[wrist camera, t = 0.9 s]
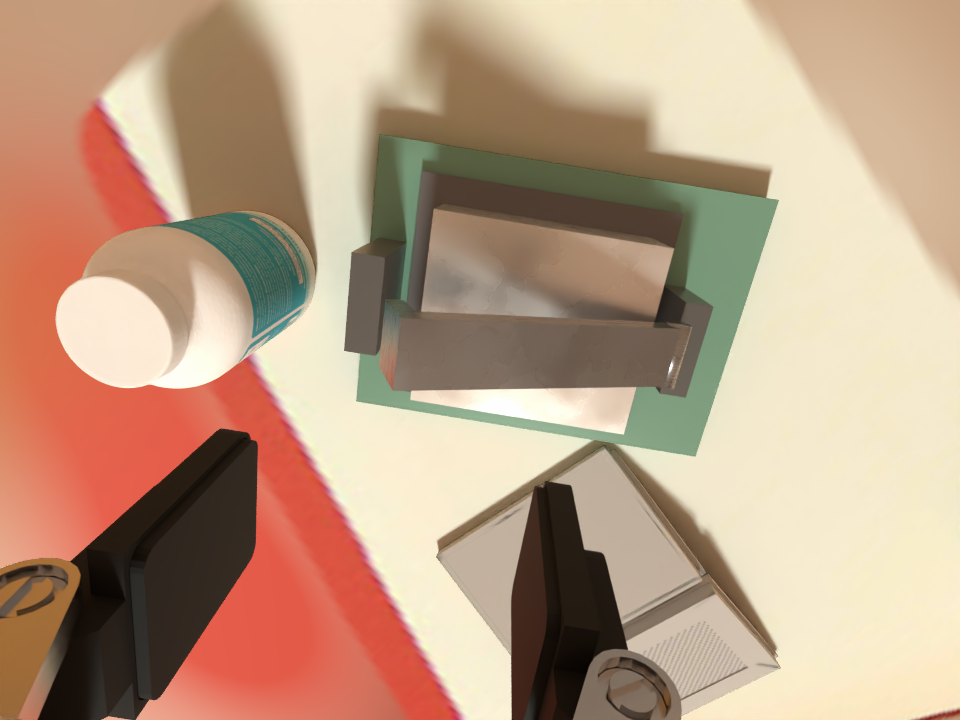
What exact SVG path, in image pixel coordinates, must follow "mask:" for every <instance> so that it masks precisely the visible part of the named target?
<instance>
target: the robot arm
mask: <svg viewBox="0 0 960 720" xmlns="http://www.w3.org/2000/svg"><path fill="white" fill-rule="evenodd" d="M257 456H258V445H257V442H256V441H254V440H251V439H250V435H249V434H248V433H246V432H240V431H234V430H228V429H219V430H218V431H216V432H215V433H214V434H213V435H212V436H211V437H210V438H209V439H207V440H206V441H205V442H204V443H203V444H202V445H201V446H200V447H199V448H198V449H196V450H195V451H194V452H193V453H192V454H191V455H190V456H189V457H188V458H186V459H185V460H184V461H183V462H182V463H181V464H180V465H179V466H178V467H176V468H175V469H174V470H173V471H172V472H171V473H170V474H169V475H167V476H166V477H165V478H164V479H163V480H162V481H161V482H160V483H159V484H157V485H156V486H154V487H153V488H152V489H151V490H150V491H149V492H147V493H146V494H145V495H144V496H143V497H142V498H141V499H140V500H138V501H137V502H136V503H135V504H134V505H133V506H132V507H131V508H129V509H128V510H127V511H126V512H125V513H124V514H123V515H122V516H121V517H119V518H118V519H117V520H116V521H115V522H114V523H113V524H112V525H110V526H109V527H108V528H107V529H106V530H105V531H104V532H103V533H102V534H101V535H99V536H98V537H97V538H96V539H95V540H94V541H93V542H91V543H90V545H88V546H87V547H86V548H85V549H84V550H83V551H81V552H80V553H79V554H78V555H77V556H76V557H75V558H74V559H73V560H71V561H70V562H69V561H66V560H62V559H58V558H39V559H32V560H26V561H22V562H18V563H15V564H12V565H9V566H6V567H4V568H2V569H0V720H101V719H104V718H106V717H108V716H111V717H117V718H124V719H130V720H136V718H137V716H138V715H139V714H140V712H141V711H142V709H143V708H144V707H145V705H146V703H147V702H148V701H149V699H150V700H156V699H158V698H159V697H160V696H161V695H162V694H163V692H164V691H165V689H166V688H167V686H168V685H169V683H170V682H171V680H172V679H173V677H174V676H175V674H176V672H177V671H178V669H179V668H180V666H181V665H182V663H183V662H184V660H185V659H186V657H187V656H188V654H189V653H190V651H191V650H192V648H193V647H194V645H195V644H196V642H197V641H198V639H199V638H200V636H201V634H202V633H203V632H204V630H205V629H206V627H207V625H208V624H209V622H210V621H211V619H212V618H213V616H214V615H215V613H216V612H217V610H218V609H219V607H220V606H221V604H222V602H223V601H224V600H225V598H226V597H227V595H228V594H229V592H230V591H231V589H232V588H233V586H234V584H235V583H236V581H237V580H238V578H239V577H240V575H241V574H242V572H243V571H244V569H245V568H246V566H247V564H248V563H249V561H250V560H251V558H252V556H253V553H254V549H255V543H256V502H257V501H256V499H257ZM511 683H512V720H681V713H682V707H681V697H680V695H679V693H678V690H677V688H676V686H675V684H674V682H673V681H672V680H671V678H670V677H669V676H668V674H667V673H666V672H665V671H664V670H663V669H662V668H660V667H659V666H658V665H657V664H656V663H655V662H653V661H652V660H650V659H648V658H646V657H645V656H643V655H641V654H638V653H635V652H632V651H629V650H628V647H627V643H626V639H625V635H624V631H623V627H622V623H621V619H620V615H619V611H618V607H617V603H616V599H615V595H614V591H613V587H612V583H611V579H610V575H609V571H608V566H607V562H606V559H605V556H604V554H603V553H602V552H597V551H591V550H584V545H583V540H582V535H581V530H580V525H579V520H578V515H577V510H576V505H575V500H574V495H573V490H572V486H571V485H567V484H561V483H555V482H549V481H546V482H545V483H544V486H543V487H538V486H535V488H534V491H533V495H532V500H531V504H530V509H529V513H528V518H527V523H526V527H525V532H524V536H523V541H522V546H521V550H520V555H519V559H518V564H517V569H516V573H515V578H514V582H513V588H512V595H511Z"/></svg>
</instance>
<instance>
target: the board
mask: <svg viewBox="0 0 960 720" xmlns="http://www.w3.org/2000/svg"><path fill="white" fill-rule="evenodd" d="M778 201H779V200H775V199H769V198H763V197H757V196H751V195H745V194H738V193H732V192H726V191H720V190H714V189H708V188H702V187H696V186H690V185H684V184H678V183H672V182H666V181H660V180H654V179H648V178H642V177H636V176H630V175H624V174H618V173H612V172H606V171H600V170H593V169H587V168H581V167H575V166H569V165H563V164H557V163H551V162H545V161H539V160H533V159H527V158H521V157H515V156H509V155H503V154H497V153H491V152H485V151H479V150H473V149H467V148H461V147H454V146H448V145H442V144H436V143H430V142H424V141H418V140H412V139H406V138H400V137H394V136H388V135H382V134H380V136H379V148H378V159H377V171H376V182H375V194H374V205H373V216H372V228H371V239H370V243H368V244H366V245H364V246H362V247H361V248H359V249H357V250H355V251H353V252H352V256H351V269H350V282H349V295H348V308H347V321H346V335H345V348H344V351H348V352H354V353H361V354H360V365H359V377H358V388H357V400H356V401H358V402H364V403H370V404H376V405H382V406H388V407H394V408H401V409H407V410H413V411H419V412H425V413H431V414H437V415H444V416H450V417H456V418H462V419H468V420H474V421H480V422H487V423H493V424H499V425H505V426H511V427H517V428H523V429H530V430H536V431H542V432H548V433H554V434H560V435H566V436H573V437H579V438H585V439H591V440H597V441H603V442H609V443H616V444H622V445H628V446H634V447H640V448H646V449H652V450H659V451H665V452H671V453H677V454H683V455H689V456H696V453H697V450H698V447H699V444H700V441H701V438H702V435H703V431H704V428H705V425H706V422H707V419H708V416H709V413H710V410H711V407H712V404H713V401H714V398H715V395H716V392H717V388H718V385H719V382H720V379H721V376H722V373H723V370H724V367H725V364H726V361H727V358H728V355H729V352H730V349H731V345H732V342H733V339H734V336H735V333H736V330H737V327H738V324H739V321H740V318H741V315H742V312H743V309H744V306H745V302H746V299H747V296H748V293H749V290H750V287H751V284H752V281H753V278H754V275H755V272H756V269H757V266H758V263H759V259H760V256H761V253H762V250H763V247H764V244H765V241H766V238H767V235H768V232H769V229H770V226H771V223H772V220H773V216H774V213H775V210H776V207H777V204H778ZM385 299H392V300H404V301H405V302H406V303H407V304H408V305H409V306H410V307H411V308H412V309H413V310H414V311H422V312H444V313H466V314H489V315H511V316H533V317H555V318H578V319H600V320H622V321H644V322H666V323H667V321H668V320H674V321H680V322H684V323H687V324H689V325H691V326H692V330H691V334H690V337H689V340H688V344H687V347H686V350H685V354H684V357H683V361H682V364H681V367H680V371H679V374H678V377H677V381H676V384H675V388H674V389H663V388H660V387H615V388H551V389H488V390H424V391H393V390H392V388H391V387H390V385H389V383H388V381H387V380H386V378H385V376H384V375H383V373H382V371H381V369H380V368H379V358H380V348H381V338H382V328H383V318H384V308H385Z"/></svg>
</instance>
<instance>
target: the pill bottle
mask: <svg viewBox="0 0 960 720" xmlns="http://www.w3.org/2000/svg"><path fill="white" fill-rule="evenodd" d="M314 289H315V269H314V264H313V261H312V258H311V255H310V253H309V251H308V249H307V247H306V245H305V244H304V242H303V241H302V239H301V238H300V237H299V236H298V234H297V233H296V232H295V231H294V230H293V229H292V228H290V227H289V226H288V225H287V224H285V223H284V222H282V221H281V220H279V219H277V218H275V217H273V216H271V215H268V214H265V213H261V212H256V211H236V212H230V213H224V214H218V215H213V216H207V217H201V218H196V219H190V220H185V221H179V222H173V223H167V224H162V225H156V226H150V227H145V228H140V229H135V230H131V231H128V232H125V233H122V234H119V235H117V236H115V237H113V238H112V239H110V240H109V241H107V242H106V243H104V244H103V245H102V246H101V247H100V248H99V249H98V250H97V251H96V252H95V253H94V254H93V256H92V257H91V259H90V260H89V262H88V264H87V265H86V268H85V270H84V273H83V276H82V278H81V279H79V280H77V281H76V282H74V283H73V284H71V285H70V286H69V287H68V288H67V289H66V290H65V291H64V293H63V294H62V296H61V298H60V300H59V303H58V305H57V311H56V326H57V332H58V335H59V338H60V340H61V343H62V345H63V347H64V349H65V351H66V352H67V353H68V355H69V356H70V358H71V359H72V360H73V361H74V362H75V363H76V365H77V366H79V367H80V368H81V369H82V370H83V371H84V372H86V373H87V374H88V375H90V376H91V377H93V378H95V379H96V380H98V381H101V382H103V383H105V384H108V385H112V386H116V387H122V388H135V387H141V386H144V385H147V384H151V385H155V386H159V387H165V388H189V387H195V386H199V385H203V384H206V383H208V382H211V381H213V380H215V379H217V378H218V377H220V376H221V375H223V374H224V373H226V372H227V371H229V370H230V369H231V368H233V367H234V366H235V365H237V364H238V363H240V362H241V361H242V360H244V359H245V358H246V357H248V356H249V355H250V354H252V353H253V352H254V351H256V350H257V349H258V348H260V347H261V346H263V345H264V344H265V343H267V342H268V341H269V340H271V339H272V338H274V337H275V336H276V335H278V334H279V333H281V332H282V331H283V330H285V329H286V328H287V327H289V326H290V325H291V324H293V323H294V322H295V321H297V320H298V319H299V318H300V317H301V316H302V315H303V313H304V312H305V311H306V309H307V308H308V306H309V304H310V302H311V300H312V297H313V294H314Z"/></svg>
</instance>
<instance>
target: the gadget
mask: <svg viewBox="0 0 960 720" xmlns="http://www.w3.org/2000/svg"><path fill="white" fill-rule="evenodd" d="M549 482H555V483H561V484H567V485H571V486H572V490H573V495H574V500H575V505H576V510H577V515H578V520H579V525H580V530H581V535H582V540H583V545H584V550H591V551H597V552H602V553H603V554H604V556H605V559H606V562H607V566H608V571H609V575H610V579H611V583H612V587H613V591H614V595H615V599H616V603H617V607H618V611H619V615H620V619H621V623H622V627H623V631H624V635H625V639H626V643H627V647H628V650H629V651H632V652H635V653H638V654H641V655H643V656H645V657H646V658H648V659H650V660H652V661H653V662H655V663H656V664H657V665H658V666H659V667H660V668H662V669H663V670H664V671H665V672H666V673H667V674H668V676H669V677H670V678H671V680H672V681H673V682H674V684H675V686H676V688H677V690H678V693H679V695H680V697H681V707H682V713H681V716H682V715H684V714H687V713H689V712H691V711H693V710H695V709H697V708H699V707H701V706H703V705H705V704H707V703H709V702H711V701H713V700H716V699H718V698H720V697H722V696H724V695H726V694H728V693H730V692H732V691H734V690H736V689H738V688H740V687H742V686H744V685H747V684H749V683H751V682H753V681H755V680H757V679H759V678H761V677H763V676H765V675H767V674H769V673H771V672H773V671H775V670H778V669H780V666H779V664H778V662H777V661H776V659H775V658H776V657H778V656H777V655H776V653H775V652H774V651H773V649H772V648H771V647H770V646H769V644H768V643H767V642H766V641H765V639H764V638H763V637H762V636H761V635H760V633H759V632H758V631H757V630H756V629H755V628H754V626H753V625H752V624H751V623H750V622H749V621H748V619H747V618H746V617H745V616H744V615H743V614H742V613H741V611H740V610H739V609H738V608H737V607H736V606H735V604H734V603H733V602H732V601H731V600H730V599H729V597H728V596H727V595H726V594H725V593H724V592H723V590H722V589H721V588H720V587H719V586H718V585H717V584H716V582H715V581H714V580H713V579H712V578H711V577H710V575H709V574H706V571H705V569H704V568H703V566H702V565H701V564H700V562H699V561H698V560H697V558H696V557H695V556H694V554H693V553H692V552H691V550H690V549H689V548H688V546H687V545H686V543H685V542H684V541H683V539H682V538H681V537H680V535H679V534H678V533H677V531H676V530H675V529H674V527H673V526H672V525H671V523H670V522H669V520H668V519H667V518H666V516H665V515H664V514H663V512H662V511H661V510H660V508H659V507H658V506H657V504H656V503H655V501H654V500H653V499H652V497H651V496H650V495H649V493H648V492H647V491H646V489H645V488H644V487H643V485H642V484H641V483H640V481H639V480H638V478H637V477H636V476H635V474H634V473H633V472H632V470H631V469H630V468H629V467H628V465H627V464H626V463H625V462H624V460H623V459H622V458H621V457H620V455H619V454H618V453H617V451H616V450H615V449H614V450H612V451H611V452H610V451H609V449H608V448H607V447H606V446H605V445H604V446H602V447H601V448H599V449H597V450H596V451H594V452H593V453H591V454H590V455H588V456H587V457H585V458H583V459H582V460H580V461H579V462H577V463H576V464H574V465H572V466H571V467H569V468H568V469H566V470H565V471H563V472H562V473H560V474H558V475H557V476H555V477H554V478H552V479H551V480H549ZM543 486H544V484H543V485H541V486H540V487H543ZM533 491H534V490H533ZM533 491H532V492H530V493H529V494H527V495H526V496H524V497H522V498H521V499H519V500H518V501H516V502H515V503H513V504H512V505H510V506H508V507H507V508H505V509H504V510H502V511H501V512H499V513H497V514H496V515H494V516H493V517H491V518H490V519H488V520H487V521H485V522H483V523H482V524H480V525H479V526H477V527H476V528H474V529H472V530H471V531H469V532H468V533H466V534H465V535H463V536H462V537H460V538H458V539H457V540H455V541H454V542H452V543H451V544H449V545H447V546H446V547H444V548H443V549H441V550H440V551H439V552H438V554H437V556H436V557H437V559H438V560H439V561H440V563H441V564H442V565H443V567H444V568H445V569H446V571H447V572H448V573H449V575H450V576H451V577H452V578H453V580H454V581H455V582H456V584H457V585H458V586H459V588H460V589H461V590H462V592H463V593H464V594H465V596H466V597H467V598H468V600H469V601H470V602H471V604H472V605H473V606H474V608H475V609H476V610H477V611H478V613H479V614H480V615H481V617H482V618H483V619H484V621H485V622H486V623H487V625H488V626H489V627H490V629H491V630H492V631H493V633H494V634H495V635H496V637H497V638H498V639H499V640H500V642H501V643H502V644H503V646H504V647H505V648H506V650H507V651H508V652H509V654H510V655H511V595H512V588H513V582H514V578H515V573H516V569H517V564H518V559H519V555H520V550H521V546H522V541H523V536H524V532H525V527H526V523H527V518H528V513H529V509H530V504H531V500H532V495H533ZM704 574H706V575H705V576H703V577H701V576H702V575H704Z"/></svg>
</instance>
